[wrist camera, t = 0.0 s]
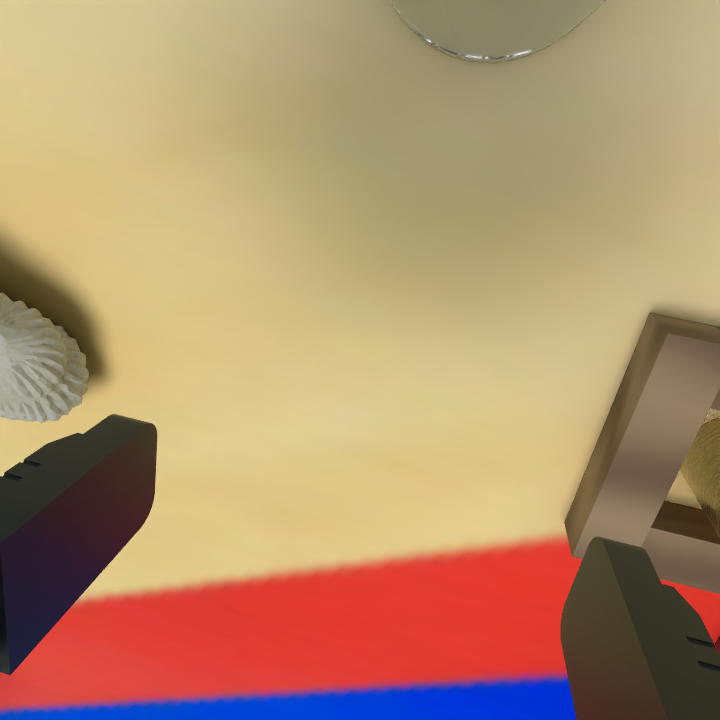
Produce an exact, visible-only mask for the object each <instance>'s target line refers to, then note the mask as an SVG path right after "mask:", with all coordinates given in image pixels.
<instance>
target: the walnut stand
mask: <svg viewBox="0 0 720 720" xmlns="http://www.w3.org/2000/svg"><path fill="white" fill-rule="evenodd" d="M710 408H713V409H717V410H720V327H715V326H710V325H705V324H700V323H695V322H691V321H686V320H681V319H676V318H671V317H666V316H661V315H657V314H652V313H650V314H649V317H648V319H647V322H646V324H645V327H644V329H643V331H642V334H641V336H640V339H639V341H638V344H637V346H636V349H635V351H634V354H633V356H632V358H631V361H630V363H629V366H628V368H627V371H626V373H625V376H624V378H623V381H622V383H621V385H620V388H619V390H618V393H617V395H616V398H615V400H614V403H613V405H612V408H611V410H610V412H609V415H608V417H607V420H606V422H605V425H604V427H603V430H602V432H601V435H600V437H599V439H598V442H597V444H596V447H595V449H594V452H593V454H592V457H591V459H590V462H589V464H588V466H587V469H586V471H585V474H584V476H583V479H582V481H581V484H580V486H579V489H578V491H577V493H576V496H575V498H574V501H573V503H572V506H571V508H570V511H569V513H568V516H567V518H566V520H565V527H566V532H567V536H568V541H569V545H570V550H571V554H572V557H576V558H580V559H583V557H584V555H585V552H586V550H587V547H588V545H589V543H590V542H591V540H592V539H593V538H594V537H597V536H598V537H602V538H606V539H610V540H614V541H618V542H622V543H626V544H630V545H634V546H638V547H642V548H643V549H645V551H646V552H647V554H648V556H649V558H650V560H651V562H652V564H653V566H654V569H655V571H656V573H657V575H658V577H659V579H663V580H667V581H671V582H675V583H679V584H683V585H686V586H690V587H694V588H698V589H702V590H706V591H710V592H714V593H718V594H720V538H719V536H718V534H717V533H716V531H715V529H714V527H713V526H712V524H711V522H710V520H709V519H708V517H707V515H706V514H705V512H704V511H703V510H698V509H694V508H690V507H686V506H682V505H678V504H673V503H669V502H665V501H664V500H665V498H666V496H667V494H668V492H669V490H670V488H671V486H672V484H673V482H674V480H675V478H676V476H677V474H678V471H679V469H680V467H681V465H682V463H683V461H684V459H685V457H686V455H687V453H688V451H689V449H690V447H691V445H692V443H693V441H694V439H695V437H696V435H697V433H698V431H699V429H700V427H701V425H702V423H703V421H704V419H705V417H706V415H707V413H708V411H709V409H710Z"/></svg>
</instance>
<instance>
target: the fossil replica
mask: <svg viewBox="0 0 720 720" xmlns="http://www.w3.org/2000/svg"><path fill="white" fill-rule="evenodd" d="M85 366H86V355H84V354H83V353H82V352H80V349H79V346H78V344H77V341H76V339H74V338H71V337H69V336H68V334H67V333H66V331H65V330H64V329H63V327H61V326H55V325H54V324H53V323H52V322H51V321H50V319H48V318H44V317H42V315H41V313H40V312H39V311H38V310H37V309H36V308H30V309H29V308H27V306H26V305H25V303H24V302H23V301H15V302H14V301H12V300H11V299H9V298H8V297H7V296H6V295H5V294H4V293H0V417H4V418H7V419H11V420H24V421H32V422H33V421H39V422H40V423H43V422H45V421H46V420H51V421H56V420H59V419H60V417H61V415H68V413H69V412H70V410H71V408H72V407H75V406H77V405H79V404H81V403H82V397H81V396H83V395H84V394H85V392H86V391H87V385H86V383H85V382H86V381H87V379H88V377H89V372H88V369H87V368H86V367H85Z"/></svg>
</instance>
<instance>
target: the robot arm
mask: <svg viewBox="0 0 720 720" xmlns="http://www.w3.org/2000/svg"><path fill="white" fill-rule="evenodd" d="M389 1H390V2H391V4H392V5H393V6H394V8H395V9H396V10H397V12H398V13H399V14H400V16H401V17H402V19H403V20H404V21H405V23H406V24H407V25H408V26H409V27H410V28H411V29H412V30H413V31H414V32H415V33H416V34H417V35H418V36H420V37H421V38H422V39H423V40H424V41H425V42H426V43H428V44H430V45H431V46H433V47H435V48H437V49H438V50H440V51H442V52H443V53H445V54H447V55H450V56H454V57H457V58H461V59H464V60H468V61H474V62H501V61H506V60H511V59H517V58H522V57H524V56H527V55H529V54H531V53H534V52H536V51H538V50H541V49H543V48H545V47H548V46H549V45H551V44H552V43H554V42H555V41H556V40H558V39H559V38H561V37H562V36H564V35H565V34H567V33H568V32H570V31H571V30H572V29H574V28H575V27H576V26H577V25H578V24H579V23H580V22H581V21H582V20H584V19H585V18H586V17H587V16H588V15H590V14H591V13H592V12H593V11H594V10H596V9H597V8H598V7H599V6H600V5H601V4H602V3H603V2H604V1H606V0H389ZM156 453H157V430H156V427H155V425H153V424H152V423H148V422H144V421H140V420H136V419H132V418H128V417H124V416H120V415H116V414H113V415H110V416H108V417H107V418H105V419H104V420H102V421H101V422H100V423H98V424H97V425H95V426H94V427H93V428H91V429H90V430H88V431H87V432H86V433H84V434H80V433H76V434H73V435H70V436H67V437H64V438H62V439H59V440H56V441H53V442H50V443H48V444H46V445H45V446H43V447H42V448H40V449H39V450H37V451H36V452H34V453H33V454H31V455H30V456H28V457H27V458H25V459H24V462H23V463H20V462H19V463H18V464H16V465H15V466H14V467H12V468H11V469H9V470H8V471H6V472H5V474H4V476H3V477H1V476H0V672H2V673H5V674H8V675H11V674H12V673H13V672H14V670H15V669H16V668H17V667H18V666H19V665H20V664H21V663H22V661H23V660H24V659H25V658H26V657H27V656H28V655H29V653H30V652H31V651H32V650H33V649H34V648H35V647H36V646H37V644H38V643H39V642H40V641H41V640H42V639H43V638H44V637H45V635H46V634H47V633H48V632H49V631H50V630H51V629H52V627H53V626H54V625H55V624H56V623H57V622H58V621H59V620H60V618H61V617H62V616H63V615H64V614H65V613H66V612H67V611H68V609H69V608H70V607H71V606H72V605H73V604H74V603H75V601H76V600H77V599H78V598H79V597H80V596H81V595H82V594H83V592H84V591H85V590H86V589H87V588H88V587H89V586H90V585H91V583H92V582H93V581H94V580H95V579H96V578H97V577H98V575H99V574H100V573H101V572H102V571H103V570H104V569H105V568H106V566H107V565H108V564H109V563H110V562H111V561H112V560H113V559H114V557H115V556H116V555H117V554H118V553H119V552H120V551H121V549H122V548H123V547H124V546H125V545H126V544H127V543H128V542H129V540H130V539H131V538H132V537H133V536H134V535H135V534H136V533H137V531H138V530H139V529H140V528H141V527H142V525H143V524H144V522H145V521H146V519H147V517H148V515H149V513H150V510H151V508H152V504H153V501H154V495H155V476H156ZM561 643H562V649H563V654H564V659H565V664H566V669H567V674H568V679H569V684H570V689H571V694H572V699H573V704H574V709H575V714H576V719H577V720H720V654H719V652H718V650H717V649H714V647H713V646H714V643H713V641H712V639H711V637H710V635H709V633H708V631H707V629H706V627H705V625H704V623H703V621H702V619H701V617H700V615H699V614H698V613H697V612H696V611H695V610H694V609H693V608H692V606H691V605H690V604H689V603H688V602H687V601H686V600H685V599H684V598H683V597H682V596H681V595H680V594H679V592H678V591H677V590H676V589H675V588H674V587H672V586H668V585H664V584H661V582H660V579H659V577H658V575H657V573H656V571H655V569H654V566H653V564H652V562H651V560H650V558H649V556H648V554H647V552H646V551H645V549H643V548H642V547H638V546H634V545H630V544H626V543H622V542H618V541H614V540H610V539H606V538H602V537H598V536H597V537H594V538H593V539H592V540H591V542H590V543H589V545H588V547H587V550H586V552H585V555H584V557H583V560H582V562H581V565H580V567H579V570H578V572H577V575H576V577H575V580H574V582H573V585H572V587H571V590H570V592H569V595H568V597H567V600H566V602H565V605H564V609H563V613H562V619H561Z"/></svg>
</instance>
